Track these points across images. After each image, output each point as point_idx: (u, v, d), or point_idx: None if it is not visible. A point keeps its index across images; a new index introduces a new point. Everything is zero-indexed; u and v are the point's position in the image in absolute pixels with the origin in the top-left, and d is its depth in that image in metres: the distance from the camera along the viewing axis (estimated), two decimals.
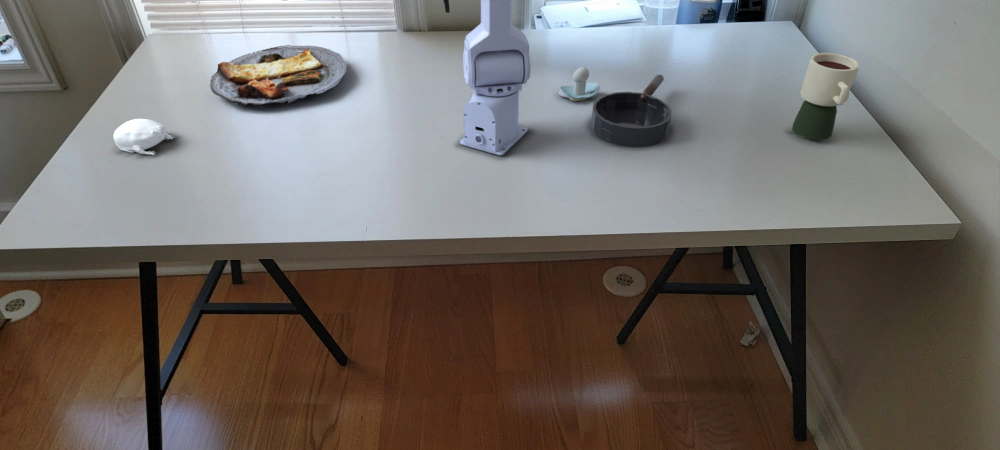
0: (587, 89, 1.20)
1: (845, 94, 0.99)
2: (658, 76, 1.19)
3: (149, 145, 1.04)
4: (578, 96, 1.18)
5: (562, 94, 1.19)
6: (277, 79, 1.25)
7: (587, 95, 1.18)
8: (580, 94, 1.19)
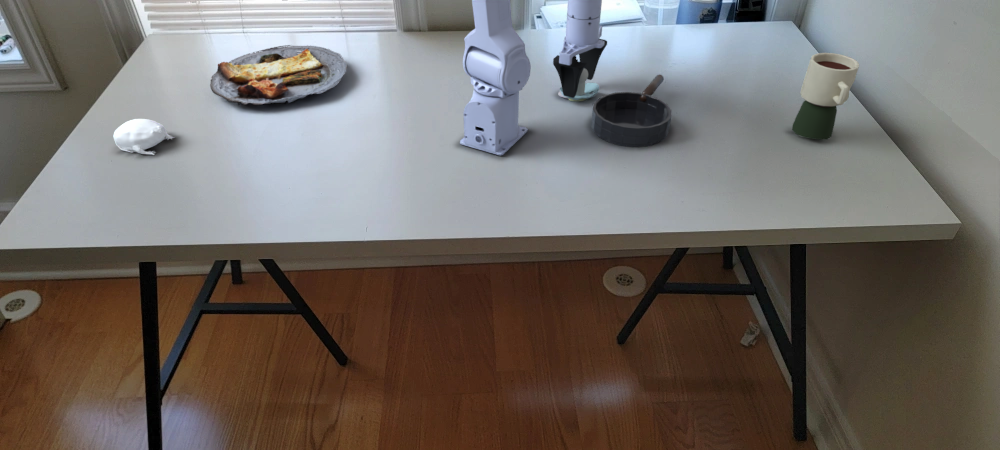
0: (587, 89, 1.20)
1: (845, 94, 0.99)
2: (658, 76, 1.19)
3: (149, 145, 1.04)
4: (578, 97, 1.18)
5: (562, 95, 1.20)
6: (277, 79, 1.25)
7: (587, 95, 1.18)
8: (580, 95, 1.19)
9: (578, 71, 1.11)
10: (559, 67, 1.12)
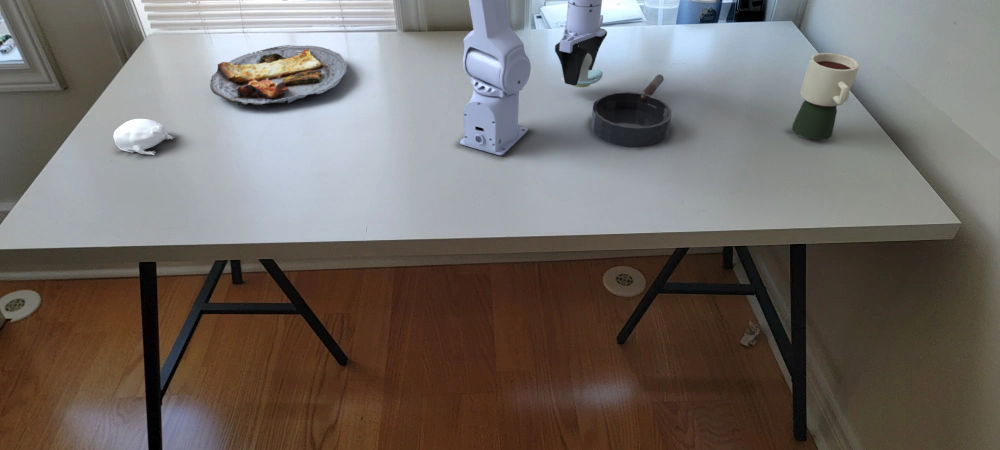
0: (590, 76, 1.19)
1: (845, 94, 0.99)
2: (658, 76, 1.19)
3: (149, 145, 1.04)
4: (580, 82, 1.17)
5: None
6: (277, 79, 1.25)
7: (589, 81, 1.17)
8: (582, 80, 1.17)
9: (580, 58, 1.10)
10: (561, 54, 1.11)
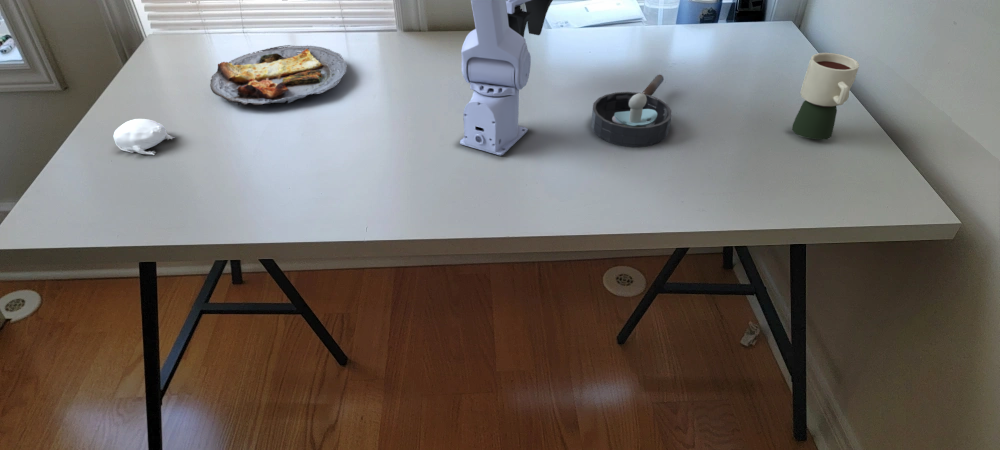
0: (643, 116, 1.11)
1: (845, 94, 0.99)
2: (658, 76, 1.19)
3: (149, 145, 1.04)
4: (633, 124, 1.09)
5: (616, 121, 1.10)
6: (277, 79, 1.25)
7: (643, 123, 1.09)
8: (636, 121, 1.09)
9: (522, 20, 1.09)
10: None
